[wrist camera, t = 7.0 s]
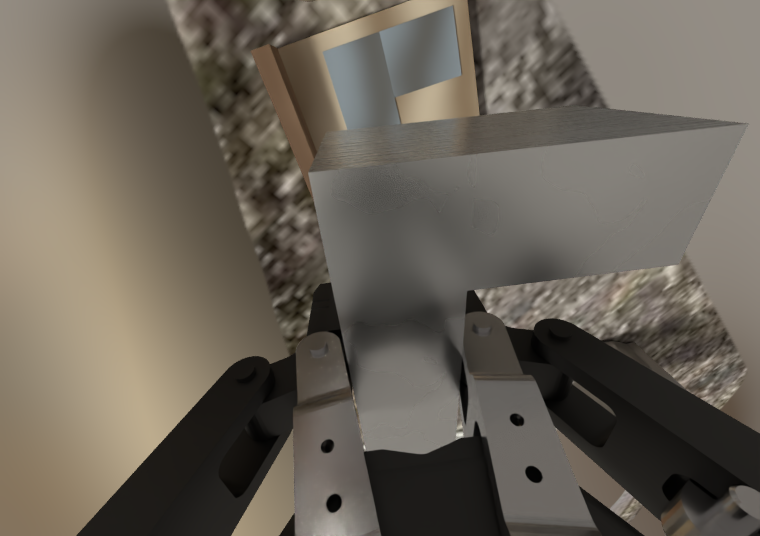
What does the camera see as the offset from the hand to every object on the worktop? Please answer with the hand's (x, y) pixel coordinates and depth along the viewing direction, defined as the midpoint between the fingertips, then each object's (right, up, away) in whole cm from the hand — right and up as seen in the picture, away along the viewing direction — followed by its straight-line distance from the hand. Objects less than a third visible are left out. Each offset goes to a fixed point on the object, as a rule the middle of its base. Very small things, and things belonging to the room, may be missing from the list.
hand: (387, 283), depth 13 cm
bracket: (+3, 0, 0) cm, 3 cm away
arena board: (+1, +10, +12) cm, 16 cm away
